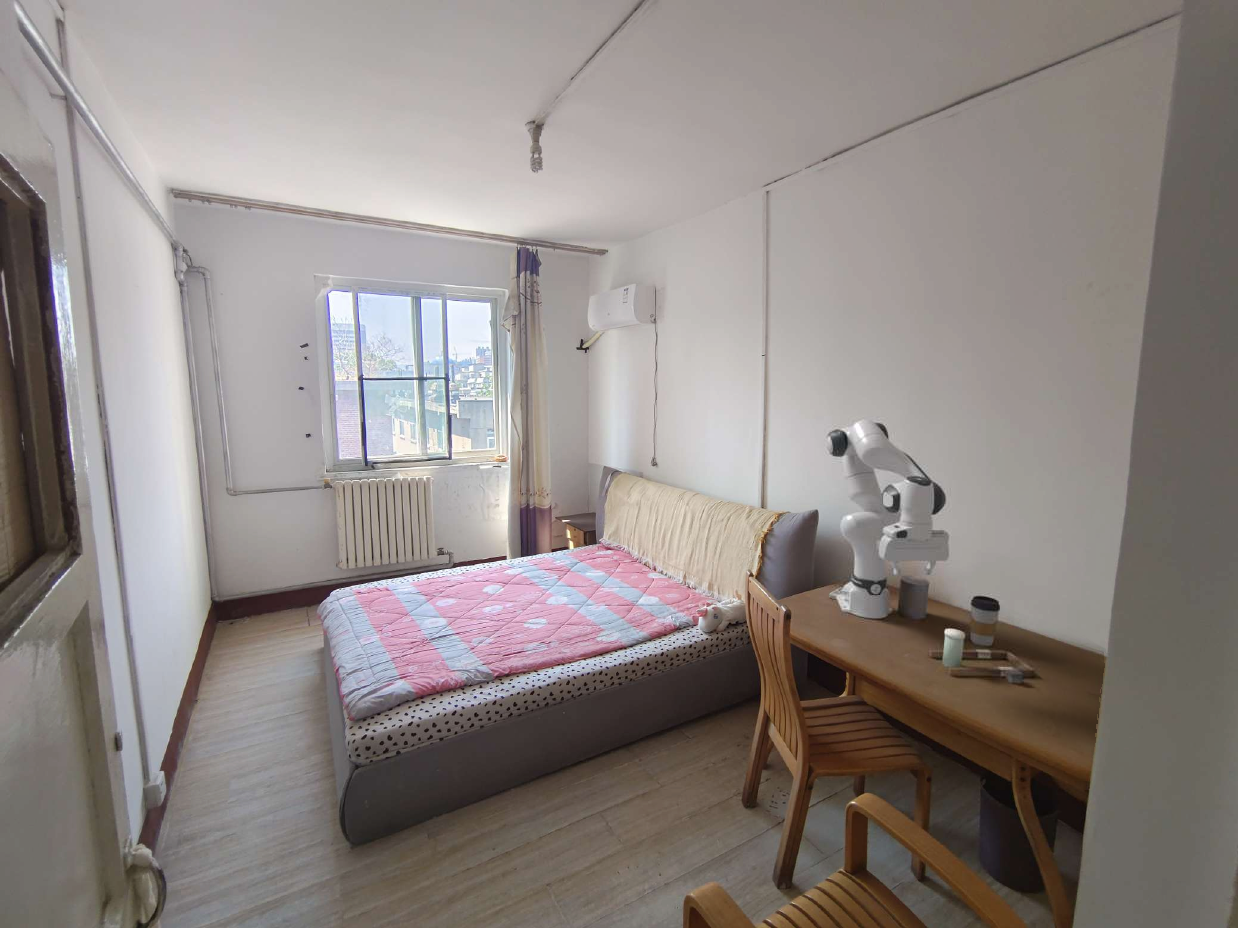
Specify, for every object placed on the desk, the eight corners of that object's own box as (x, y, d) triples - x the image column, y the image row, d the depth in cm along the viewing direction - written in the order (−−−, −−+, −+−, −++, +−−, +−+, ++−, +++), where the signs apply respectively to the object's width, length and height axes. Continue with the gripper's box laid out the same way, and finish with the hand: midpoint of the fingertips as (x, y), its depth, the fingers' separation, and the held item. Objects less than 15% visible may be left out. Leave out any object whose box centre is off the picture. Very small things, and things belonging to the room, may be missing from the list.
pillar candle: (891, 611, 217) (894, 573, 215) (909, 606, 221) (912, 570, 219) (914, 621, 209) (917, 582, 206) (932, 616, 213) (935, 578, 210)
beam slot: (927, 655, 183) (928, 646, 182) (1006, 656, 182) (1007, 647, 182) (957, 682, 166) (958, 672, 166) (1043, 683, 166) (1044, 673, 166)
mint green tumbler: (938, 660, 179) (941, 628, 178) (955, 661, 179) (958, 628, 177) (947, 669, 174) (951, 636, 172) (965, 669, 174) (968, 636, 172)
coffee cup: (966, 634, 198) (971, 593, 195) (995, 640, 193) (1000, 598, 191) (966, 644, 191) (971, 601, 188) (996, 650, 186) (1001, 606, 184)
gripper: (942, 527, 176) (939, 570, 178) (877, 527, 176) (875, 571, 178) (955, 532, 170) (951, 577, 172) (887, 533, 170) (885, 577, 171)
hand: (912, 574), depth 175 cm, fingers open, 8 cm apart
